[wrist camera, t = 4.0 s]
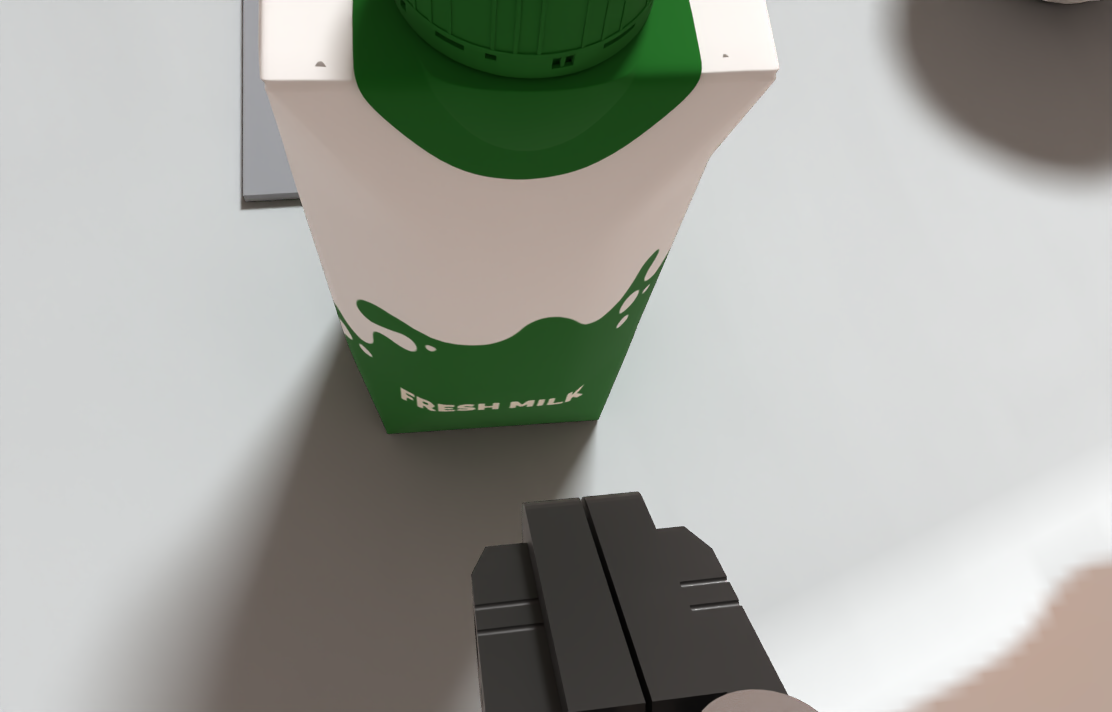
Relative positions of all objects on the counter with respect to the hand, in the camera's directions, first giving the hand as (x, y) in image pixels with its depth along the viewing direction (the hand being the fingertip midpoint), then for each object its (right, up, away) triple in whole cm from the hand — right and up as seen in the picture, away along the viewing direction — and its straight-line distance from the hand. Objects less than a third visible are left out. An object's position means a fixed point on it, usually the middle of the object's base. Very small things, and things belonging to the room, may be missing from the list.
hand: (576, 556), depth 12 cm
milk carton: (-3, +4, +19) cm, 20 cm away
